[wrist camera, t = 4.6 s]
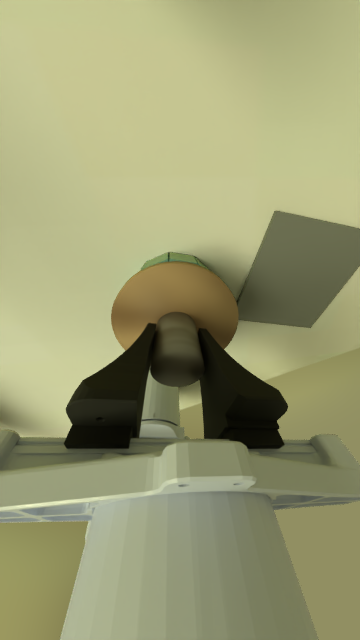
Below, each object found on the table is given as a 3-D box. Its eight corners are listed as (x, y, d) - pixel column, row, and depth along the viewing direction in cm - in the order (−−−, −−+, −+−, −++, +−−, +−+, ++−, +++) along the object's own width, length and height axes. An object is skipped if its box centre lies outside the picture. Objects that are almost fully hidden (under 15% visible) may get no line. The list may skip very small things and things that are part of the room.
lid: (215, 364, 18) (229, 414, 14) (118, 357, 17) (99, 410, 12) (254, 272, 12) (305, 306, 7) (109, 249, 11) (62, 274, 6)
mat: (308, 326, 22) (310, 327, 22) (230, 317, 21) (231, 319, 21) (380, 233, 16) (384, 233, 15) (274, 211, 14) (277, 210, 14)
